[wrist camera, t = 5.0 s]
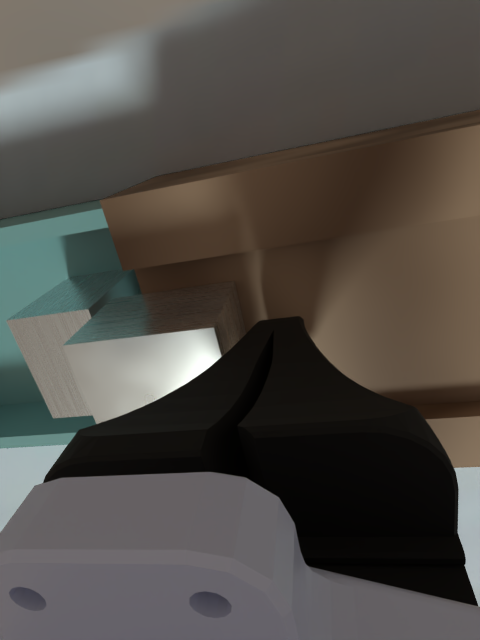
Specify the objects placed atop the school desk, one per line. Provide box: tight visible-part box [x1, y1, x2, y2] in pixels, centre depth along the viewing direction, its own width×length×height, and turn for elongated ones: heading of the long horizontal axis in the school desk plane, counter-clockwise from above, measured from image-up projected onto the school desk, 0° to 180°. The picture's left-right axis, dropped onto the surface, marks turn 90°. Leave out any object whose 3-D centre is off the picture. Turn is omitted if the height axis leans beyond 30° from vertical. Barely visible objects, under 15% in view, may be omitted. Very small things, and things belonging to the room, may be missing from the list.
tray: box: [0, 199, 122, 448], centre depth 17 cm, size 13×9×3 cm
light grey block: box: [6, 269, 142, 418], centre depth 16 cm, size 4×4×3 cm
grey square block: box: [62, 281, 246, 424], centre depth 12 cm, size 4×4×3 cm
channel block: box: [99, 110, 480, 468], centre depth 14 cm, size 15×10×5 cm, turn 102°
